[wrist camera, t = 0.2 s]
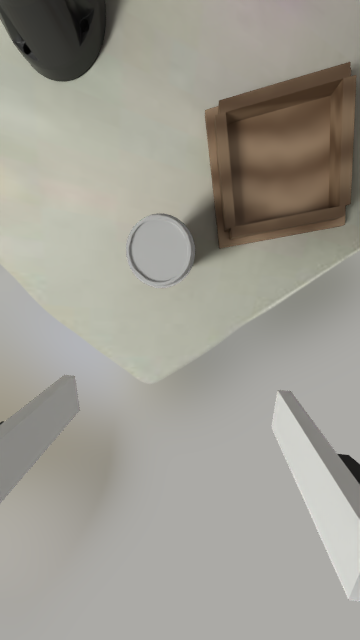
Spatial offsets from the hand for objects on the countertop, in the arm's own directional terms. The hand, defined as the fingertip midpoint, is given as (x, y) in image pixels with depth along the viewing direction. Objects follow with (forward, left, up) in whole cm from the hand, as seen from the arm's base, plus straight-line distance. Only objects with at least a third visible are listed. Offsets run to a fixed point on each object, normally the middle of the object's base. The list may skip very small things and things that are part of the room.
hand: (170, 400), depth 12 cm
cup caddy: (-21, +17, -27) cm, 38 cm away
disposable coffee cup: (-11, -2, -27) cm, 29 cm away
